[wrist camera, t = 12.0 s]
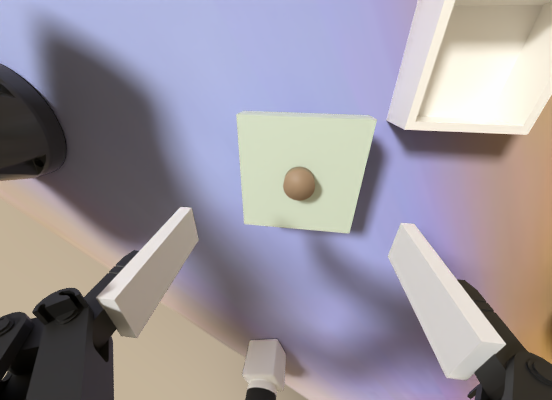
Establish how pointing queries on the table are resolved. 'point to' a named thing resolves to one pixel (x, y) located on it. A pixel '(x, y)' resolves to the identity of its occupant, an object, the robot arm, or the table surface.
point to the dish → (475, 67)
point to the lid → (302, 168)
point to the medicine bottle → (264, 369)
